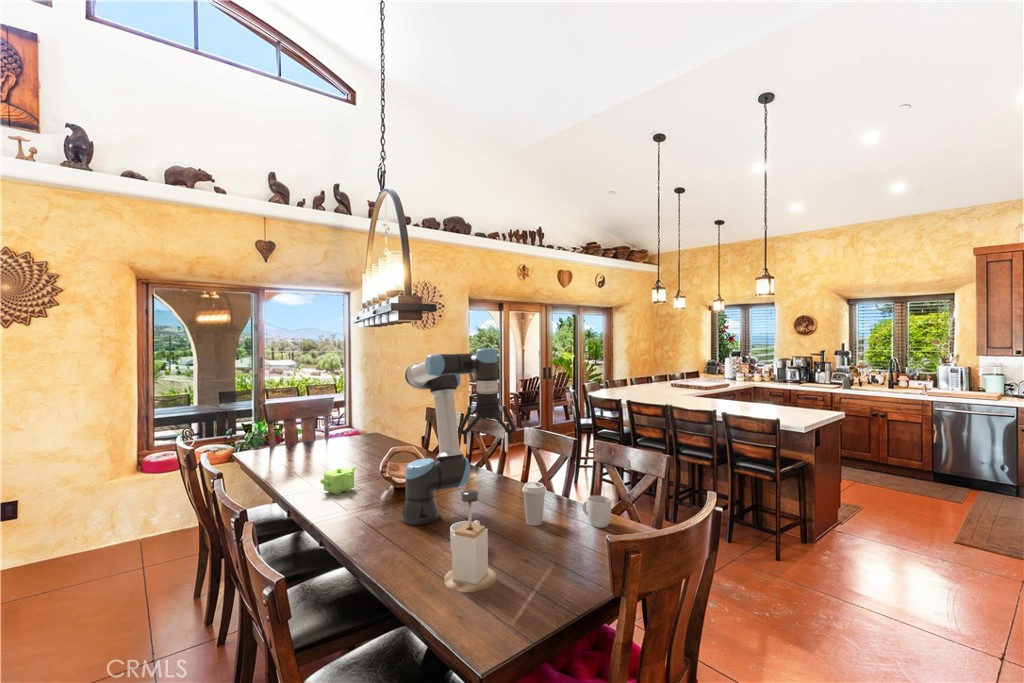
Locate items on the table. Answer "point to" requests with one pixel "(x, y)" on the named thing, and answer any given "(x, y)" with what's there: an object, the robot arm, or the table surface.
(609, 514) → the mug
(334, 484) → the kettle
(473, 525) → the white french press
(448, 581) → the trivet
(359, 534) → the table surface
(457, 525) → the mug
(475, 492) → the plunger
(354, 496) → the table surface
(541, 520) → the coffee cup
